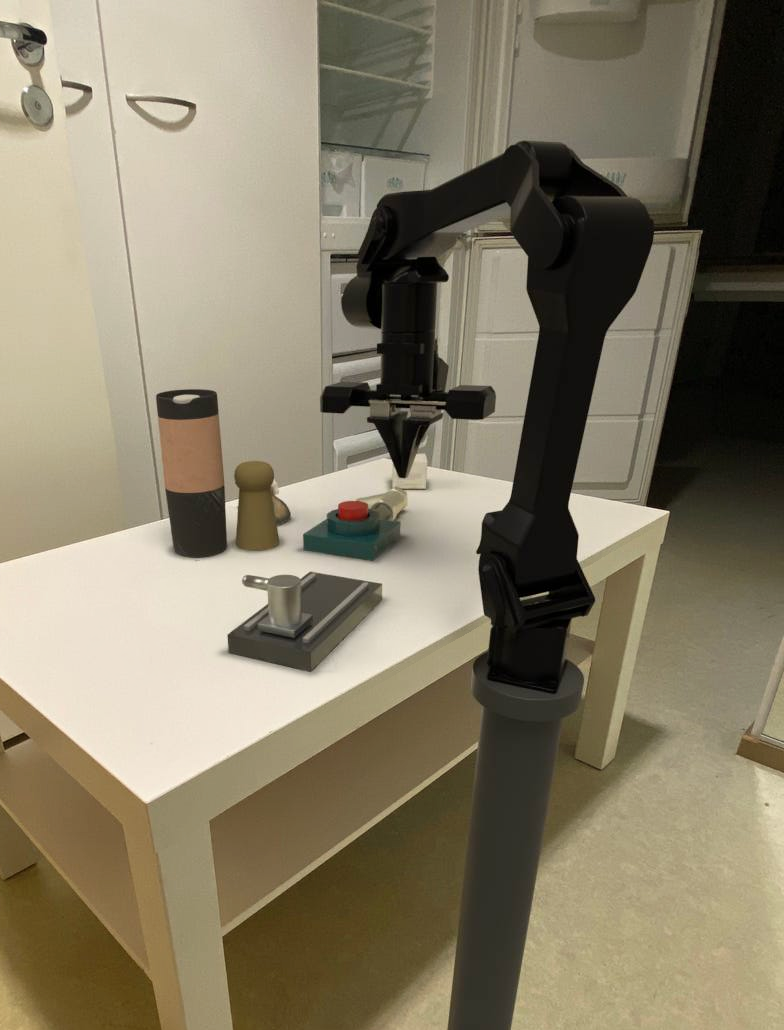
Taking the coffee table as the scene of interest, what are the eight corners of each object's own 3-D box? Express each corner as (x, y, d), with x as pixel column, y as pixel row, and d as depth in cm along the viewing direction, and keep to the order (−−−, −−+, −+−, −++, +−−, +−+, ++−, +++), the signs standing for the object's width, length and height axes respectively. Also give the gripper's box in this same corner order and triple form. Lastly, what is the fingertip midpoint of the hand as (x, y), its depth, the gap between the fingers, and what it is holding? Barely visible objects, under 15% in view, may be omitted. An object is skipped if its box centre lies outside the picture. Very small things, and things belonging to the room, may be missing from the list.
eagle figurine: (224, 506, 111) (245, 510, 103) (242, 463, 111) (265, 464, 103) (265, 526, 115) (289, 532, 107) (283, 485, 115) (308, 487, 107)
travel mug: (205, 535, 103) (192, 387, 94) (240, 547, 98) (230, 392, 89) (160, 549, 98) (142, 394, 89) (194, 562, 93) (179, 400, 84)
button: (372, 515, 98) (372, 502, 97) (361, 523, 94) (361, 510, 94) (345, 511, 99) (345, 499, 98) (333, 520, 96) (333, 507, 95)
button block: (400, 537, 100) (401, 509, 99) (373, 560, 92) (373, 530, 91) (334, 528, 104) (334, 500, 103) (303, 549, 97) (302, 520, 95)
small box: (424, 480, 126) (426, 452, 124) (426, 489, 121) (428, 460, 119) (391, 480, 127) (392, 452, 125) (392, 489, 122) (393, 460, 120)
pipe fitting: (349, 526, 106) (393, 527, 104) (347, 499, 105) (392, 500, 102) (365, 510, 113) (407, 511, 110) (364, 485, 111) (407, 485, 109)
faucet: (313, 621, 72) (312, 576, 70) (294, 638, 69) (292, 591, 66) (255, 610, 74) (252, 566, 72) (234, 625, 71) (231, 580, 69)
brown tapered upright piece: (263, 553, 96) (259, 470, 91) (226, 545, 99) (220, 464, 94) (288, 540, 100) (285, 460, 95) (252, 533, 103) (248, 455, 98)
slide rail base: (382, 599, 81) (382, 579, 80) (311, 671, 67) (310, 648, 66) (310, 587, 85) (309, 567, 84) (228, 652, 71) (226, 629, 70)
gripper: (513, 326, 80) (500, 468, 87) (356, 327, 88) (356, 458, 94) (488, 333, 71) (476, 491, 78) (316, 333, 79) (319, 477, 86)
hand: (403, 477), depth 84 cm, fingers closed
